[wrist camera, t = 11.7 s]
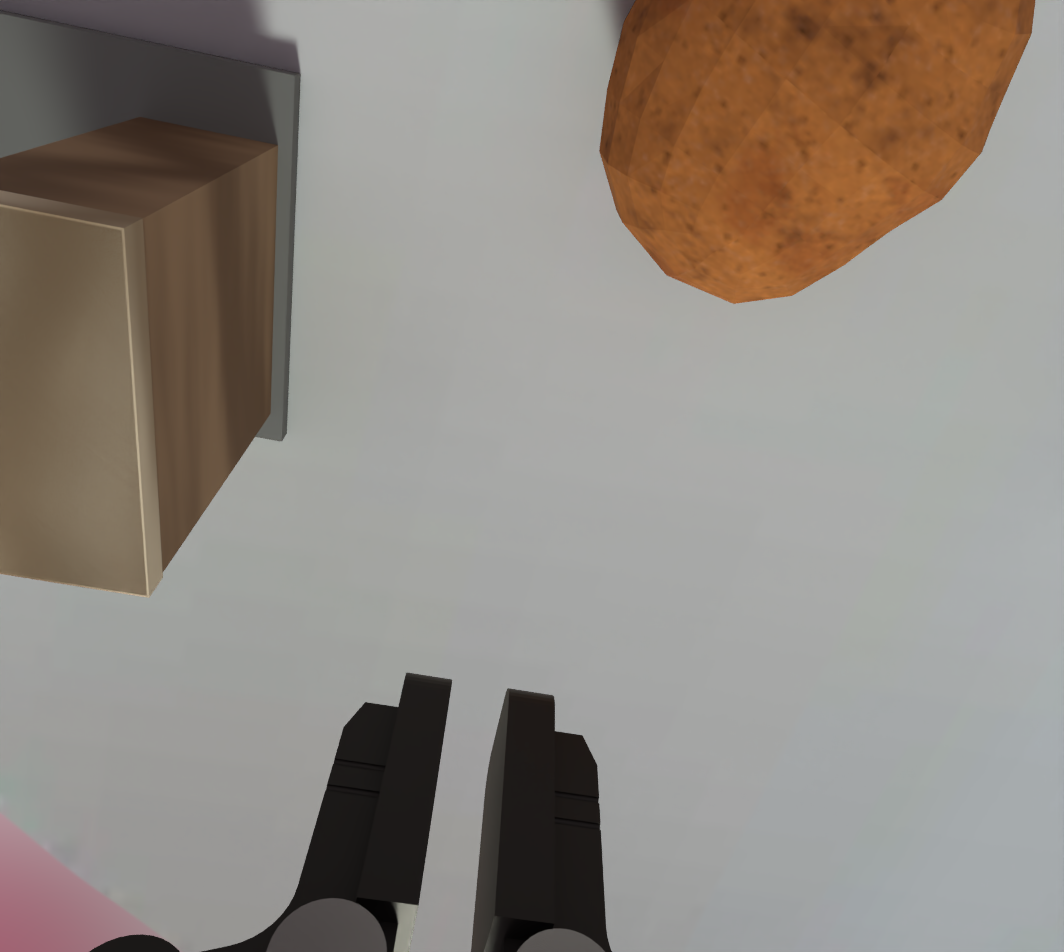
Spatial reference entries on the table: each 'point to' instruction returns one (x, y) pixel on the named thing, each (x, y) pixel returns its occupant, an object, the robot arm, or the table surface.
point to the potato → (796, 127)
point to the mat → (160, 94)
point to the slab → (129, 343)
